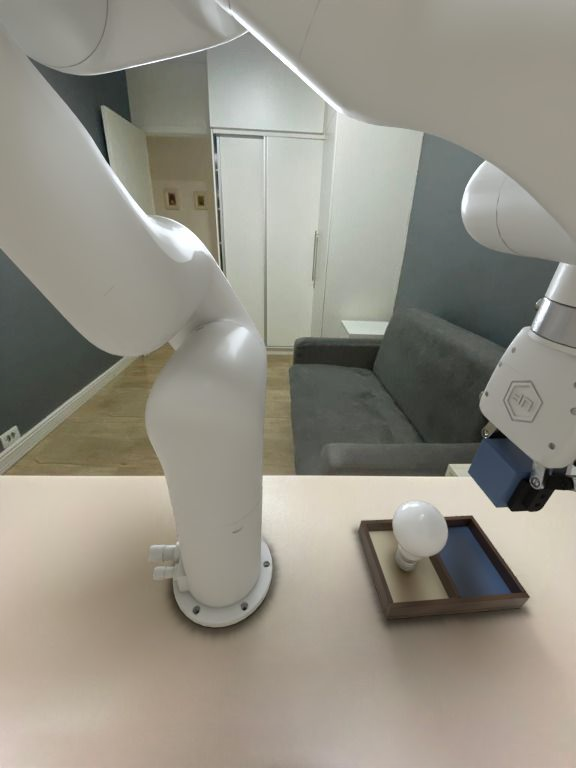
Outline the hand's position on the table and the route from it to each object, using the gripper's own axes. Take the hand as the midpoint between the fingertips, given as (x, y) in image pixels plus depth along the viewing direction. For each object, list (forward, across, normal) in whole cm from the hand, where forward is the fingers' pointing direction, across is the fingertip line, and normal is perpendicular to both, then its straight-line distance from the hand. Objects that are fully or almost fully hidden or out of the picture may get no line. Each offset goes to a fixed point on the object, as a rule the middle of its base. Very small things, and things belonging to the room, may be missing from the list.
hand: (503, 485), depth 34 cm
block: (0, 0, 0) cm, 0 cm away
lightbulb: (+16, -1, -7) cm, 18 cm away
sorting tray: (+17, -1, -3) cm, 17 cm away
